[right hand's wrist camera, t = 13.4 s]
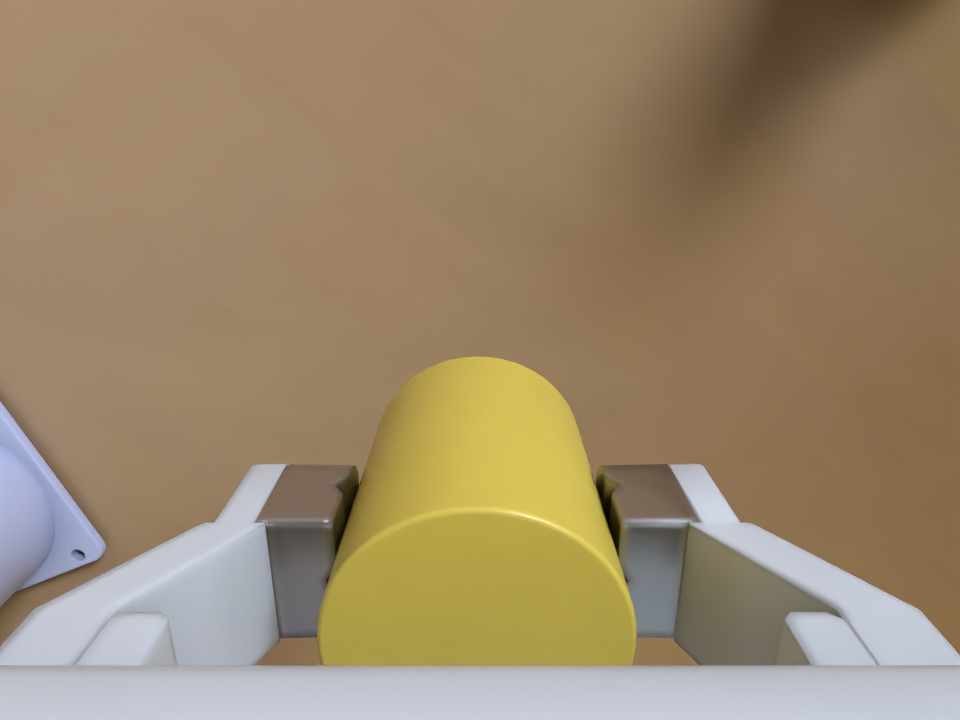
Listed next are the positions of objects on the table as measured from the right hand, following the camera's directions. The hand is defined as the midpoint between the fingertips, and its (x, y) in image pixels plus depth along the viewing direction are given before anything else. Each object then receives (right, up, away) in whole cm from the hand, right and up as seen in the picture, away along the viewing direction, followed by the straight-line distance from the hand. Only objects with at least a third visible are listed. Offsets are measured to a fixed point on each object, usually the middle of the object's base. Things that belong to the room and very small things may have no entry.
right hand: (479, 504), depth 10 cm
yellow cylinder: (0, +1, +2) cm, 2 cm away
